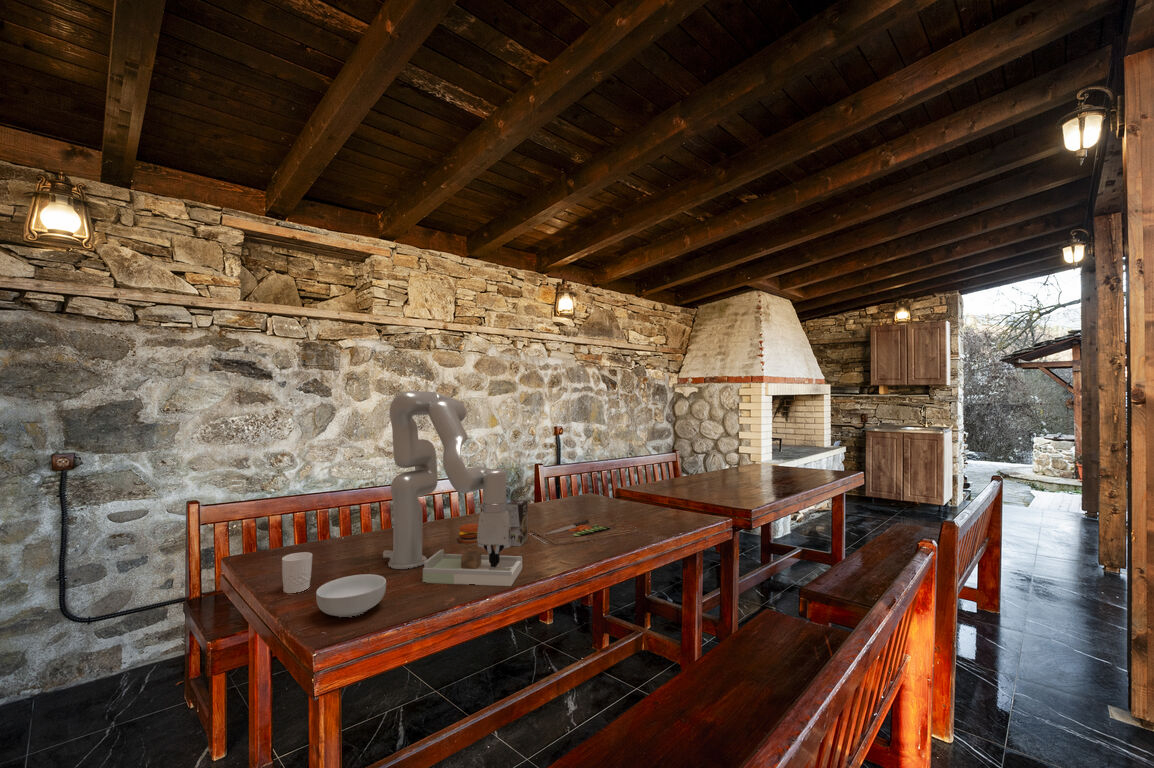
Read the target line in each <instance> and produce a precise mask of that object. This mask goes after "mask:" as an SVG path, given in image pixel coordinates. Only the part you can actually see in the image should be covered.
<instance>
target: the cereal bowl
mask: <svg viewBox="0 0 1154 768" xmlns="http://www.w3.org/2000/svg"><path fill="white" fill-rule="evenodd" d="M386 589H387V580H386V578H385V577H384V576H382V575H378V574H371V573H369V574H368V573H367V574H355V575H354V574H353V575H348V576H343V577H340V578H337V579H334V580H331V581H328V582H326V583H323V584H322V585H321V586H319V587H318V588H317V589H316V593H315V597H316V598H315V599H316V605H317V607H318V608H319V610H320V611H321V612H323V613H325V614H327V615H329V616H335V617H337V616H338V617H337V618H341V617H349V618H353V617H352V616H355V617H358V616H361V615H363V614H365V613H366V612H368V610H370V609H372V608H374V607H375V606H376V605H378V604H379V603H380V602H381V601H382V599H383V598H384V596H385V593H386ZM364 612H365V613H364ZM360 614H361V615H360ZM357 615H358V616H357Z"/></svg>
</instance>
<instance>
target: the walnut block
mask: <svg viewBox="0 0 1154 768" xmlns="http://www.w3.org/2000/svg"><path fill="white" fill-rule="evenodd" d="M481 555H482V551H480V550H466V551H465V552H463V555H461V568H462V569H477V568H478V567H479V566H480V565H481Z"/></svg>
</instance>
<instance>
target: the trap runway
mask: <svg viewBox="0 0 1154 768" xmlns="http://www.w3.org/2000/svg"><path fill="white" fill-rule="evenodd" d="M444 551H445V550H444V549H439V550H438V551H437V552H435V553H434V554H432V555H431V556H430V557H429V558H427V560H426V561H425V562H424V564H423V566H424V567H423V568H422V583H423V582H426V583H425V584H446V585H448V584H449V585H469V584H475V586H478V585H479V586H494V587H495V586H496V587H497V586H498V587H499V586H500V587H512V586H513V584H514V582H515V581H516V580H517V578H518V576H519V575H520V574H521V572H522V570H523V556H522V555H518V556H517V555H500V561H499V563H498V565H497V566H496V567H494V566H493V567H491V563H489V554H487V555H486V554H481V565H480V566H479V567H478V568H477V569H462V568H461V555H463V554H464V553H463V554H460V553H459V554H458V553H444Z"/></svg>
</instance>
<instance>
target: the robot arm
mask: <svg viewBox="0 0 1154 768" xmlns="http://www.w3.org/2000/svg"><path fill="white" fill-rule="evenodd" d="M466 414H467V409H466V407H465V405H464V404H463V402H461V401H460V400H459V399H456V398H453V397H449V396H446V395H445V394H441V393H438V392H436V391H422V390H421V391H420V390H406V391H403V392H401V393H398V394H397V395H395V396H394V398H393V399H392V401H391V403H390V405H389V418H390V424H391V429H392V432H391V433H392V434H391V435H392V451H393V461H394V463H395V466H397V467H399V468H401V469H407V468H413V467H414V470H408V471H405V472H401V473H399V474H397V475H396V476H395V477H394V478H393V479H392V480H391V483H390V493H391V499H392V504H393V541H392V543H393V544H392V547H393V548H392V550H389V549H387V550H386V549H384V550H383V553H382V558H385V559H386V558H387V559H388V558H389V561H388V562H387V563H388V564H387V565H388V567H389V568H390V567H391V569H394V570H408V568H409V569H414V567H415V568H418V566H419V567H421V566H424V562H425V561H426V560H427V559H428V558H427V556H425V555H423V507H422V504H421V502H420V499H419V498H420V497H423V496H427V495H430V494H432V493H434V491H435V490H436V489H437V487H438V481H439V479H438V464H437V463H438V462H437V460H438V459H437V452H436V447H435V446H434V445H433V443H432V442H431V441H429V440H428V439H424V438H422V439H421V438H419V428H418V425H417V423H416V421H415V419H414V418H413V416H427V415H428V416H429V419H430V421H431V424H433V427H434V429H435V431H436V433H437V435H438V438H439V440H440V441H441V444H442V445H443V455H442V458H443V459H442V460H443V461H442V462H443V463H442V464H443V469H444V472H445V475H446V477H447V478H448V480H449V483H450V484H451V486H452V488H453V489H454V490H455V491H456V492H458V493H459V494H469V493H472V492H475V491H480V490H482V503H478V506H477V507H478V508H479V509H481V512H479V516H478V523H477V524H478V531H477V542H476V543H477V546H478V547H479V548H483V549H484V550H485V551H486V552H487V555H489V563H491V567H493V566H494V567H496V566H497V565H498V563H499V561H500V556H501V555H500V553H501V551H502V550H504V549H507V548H508V549H509V548H511V542H510V539H511V528H510V519H509V513H508V511H506V504H507V471H506V470H504V469H503V468H489V467H485V466H474V467H469V468H467V467H466V465H465V463H464V461H463V457H462V453H461V451H462V447H463V445H464V444H465V443H466V442H467V440H468V434H467V432H466V430H465V428H464V426H463V424H462V422H463V421H464V420H465V418H466ZM494 546H495V549H494Z"/></svg>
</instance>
